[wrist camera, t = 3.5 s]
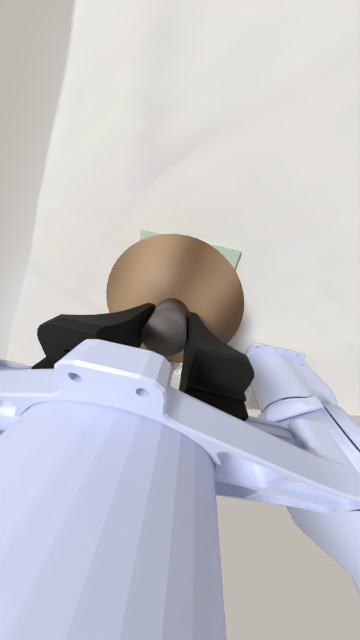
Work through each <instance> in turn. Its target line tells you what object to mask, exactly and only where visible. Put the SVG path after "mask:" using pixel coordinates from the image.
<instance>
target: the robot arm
mask: <svg viewBox="0 0 360 640" xmlns="http://www.w3.org/2000/svg"><path fill="white" fill-rule="evenodd" d="M154 310H155V304H152V303H145V304H142V305H140V306H137V307H134V308H130V309H127V310H124V311H119V312H114V313H107V314H97V315H63V314H61V315H59V316H57V317H55V318H53V319H51V320H49V321H47V322H45V323H43V324H41V325H40V326H39V328H38V331H37V336H38V339H39V342H40V344H41V346H42V348H43V351H44V353H45V355H46V357H45V358H44V359H42V360H41V361H40V362H38V363H37V364H36V365H34V366H33V367H32V366H27V365H23V364H19V363H14V362H10V361H6V360H1V359H0V640H226V627H225V613H224V600H223V586H222V572H221V560H220V559H221V558H220V547H219V531H218V519H217V504H216V495H219V496H225V497H232V498H239V499H245V500H252V501H259V502H266V503H272V504H278V505H285V506H287V509H288V510H289V512H290V514H291V516H292V519H293V521H294V522H295V524H296V525H297V526H298V527H299V528H300V529H301V530H302V531H303V532H304V533H305V534H306V535H307V536H309V537H310V538H311V539H312V540H313V541H314V542H315V543H316V544H317V545H318V546H320V547H321V548H322V549H323V550H324V551H325V552H326V553H327V554H328V555H329V556H330V557H332V558H333V559H334V560H335V561H336V562H337V563H338V564H339V565H340V566H341V567H342V568H343V569H344V570H345V571H346V572H347V573H348V574H349V575H350V577H351V578H352V580H353V582H354V584H355V586H356V587H357V590H358V592H359V593H360V426H359V425H358V424H357V423H356V422H355V421H354V420H353V419H352V418H351V417H350V416H349V415H348V414H347V413H346V412H345V411H344V410H343V409H342V408H341V407H339V406H338V403H337V400H336V397H335V395H334V393H333V392H332V390H331V389H330V388H329V387H328V386H327V385H326V384H325V383H324V382H323V381H322V380H321V378H320V377H319V376H318V375H317V374H316V373H315V372H314V371H313V370H312V369H311V368H310V367H309V366H308V365H307V364H306V363H305V361H304V359H305V357H306V355H305V354H303V353H298V352H294V351H289V350H284V349H280V348H275V347H271V346H266V345H262V344H257V343H253V344H251V346H250V348H249V349H248V351H247V353H246V354H243V353H241V352H239V351H237V350H235V349H233V348H232V347H230V346H228V345H227V344H225V343H224V342H222V341H221V340H220V339H218V338H217V337H216V336H215V335H214V334H213V333H212V332H210V330H209V329H208V328H207V327H206V326H205V325H204V323H203V322H202V320H201V319H200V317H199V316H198V314H197V313H193V312H190V315H189V319H188V328H187V337H186V344H185V347H184V354H183V365H182V372H181V378H180V385H179V390H177V389H175V388H173V387H171V379H172V374H173V373H172V366H171V364H170V363H169V362H168V361H167V360H166V358H165V357H164V356H162V355H159V354H157V353H155V352H153V351H148V350H144V349H139V348H140V346H141V345H142V343H143V342H142V338H141V332H142V329H143V327H144V326H145V324H146V322H147V321H148V319H149V318H150V316H151V315H152V313H153V312H154ZM256 346H258V347H256ZM250 384H251V387H252V389H253V392H254V395H255V397H256V400H257V402H258V405H259V407H260V410H261V413H262V414H260V415H258V418H255V417H251V416H248V413H247V410H246V407H245V403H244V401H246V397H245V393H244V392H245V390H246V389H247V388H248V386H249V385H250Z"/></svg>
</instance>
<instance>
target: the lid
mask: <svg viewBox="0 0 360 640" xmlns="http://www.w3.org/2000/svg"><path fill="white" fill-rule="evenodd" d="M145 303H152V304H155V310H154V312H153V313H152V315H151V316H150V318H149V319H148V321H147V322H146V324H145V326H144V327H143V329H142V332H141V338H142V342H143V343H142V345H141V346H140V348H139V349H144V350H148V351H153V352H155V353H157V354H159V355H162V356H164V357H165V358H166V360H167V361H168V362H183V354H184V347H185V344H186V337H187V328H188V319H189V315H190V312H193V313H197V314H198V316H199V317H200V319H201V320H202V322H203V323H204V325H205V326H206V327H207V328H208V329H209V330H210V332H212V333H213V334H214V335H215V336H216V337H217V338H218V339H220V340H221V341H222V342H224V343H225V344H227V343H228V342H229V341H230V340H231V338H232V337H233V336H234V335H235V333H236V331H237V329H238V327H239V325H240V322H241V320H242V315H243V309H244V296H243V290H242V285H241V282H240V280H239V277H238V275H237V273H236V271H235V270H234V268H233V266H232V265H231V264H230V262H229V261H228V260H227V259H226V258H225V257H224V256H223V255H222V254H221V253H220V252H219V251H218V250H217V249H215V248H214V247H212V246H211V245H209V244H207V243H205V242H203V241H201V240H199V239H197V238H193V237H190V236H186V235H179V234H161V235H156V236H151V237H148V238H146V239H143V240H141V241H139V242H137V243H135V244H134V245H132V246H131V247H129V248H128V249H127V250H126V251H125V252H124V253H123V254H122V255H121V256H120V257H119V258H118V260H117V261H116V263H115V264H114V266H113V268H112V270H111V273H110V275H109V279H108V283H107V304H108V309H109V312H110V313H114V312H119V311H124V310H127V309H130V308H134V307H137V306H140V305H142V304H145Z"/></svg>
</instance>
